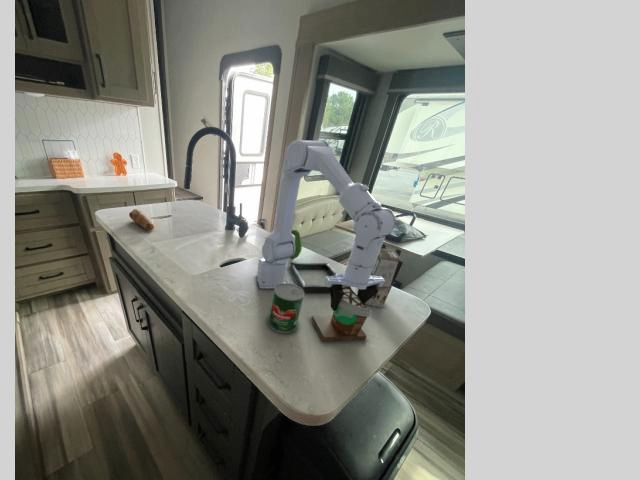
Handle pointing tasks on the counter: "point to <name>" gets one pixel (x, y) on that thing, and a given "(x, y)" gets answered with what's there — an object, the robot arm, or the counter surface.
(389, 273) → the coffee box
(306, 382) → the counter surface
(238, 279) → the counter surface
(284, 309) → the canned tomato
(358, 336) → the cutting board
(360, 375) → the counter surface
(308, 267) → the dark square tray
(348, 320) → the food container
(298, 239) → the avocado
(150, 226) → the bread
